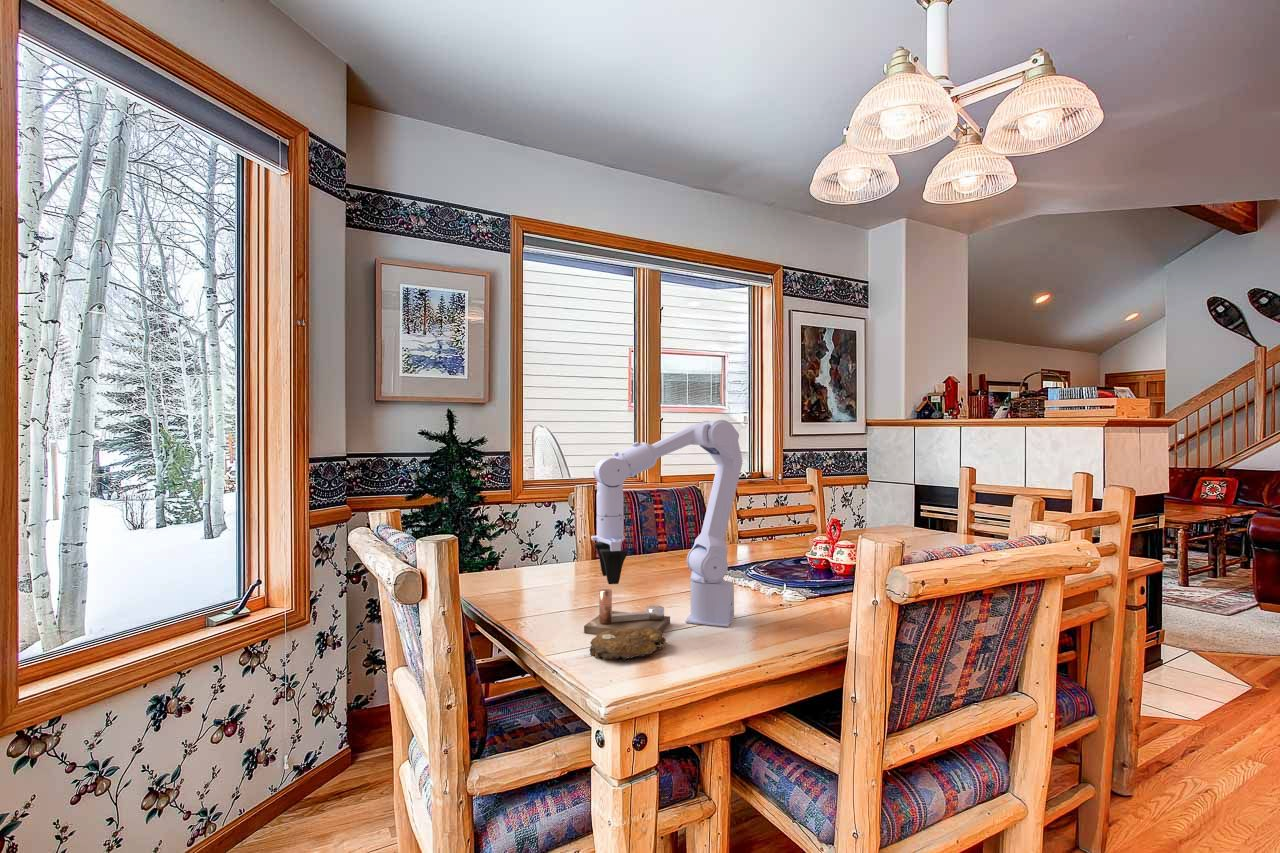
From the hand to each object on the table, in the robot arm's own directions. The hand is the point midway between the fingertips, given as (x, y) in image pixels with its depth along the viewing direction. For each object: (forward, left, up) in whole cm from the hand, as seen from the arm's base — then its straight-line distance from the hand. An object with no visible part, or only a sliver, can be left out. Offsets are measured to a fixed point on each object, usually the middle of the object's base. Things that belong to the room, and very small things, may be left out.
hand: (610, 579), depth 131 cm
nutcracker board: (-3, -1, -10) cm, 11 cm away
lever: (-4, -2, -8) cm, 10 cm away
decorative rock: (-8, +11, -11) cm, 18 cm away
